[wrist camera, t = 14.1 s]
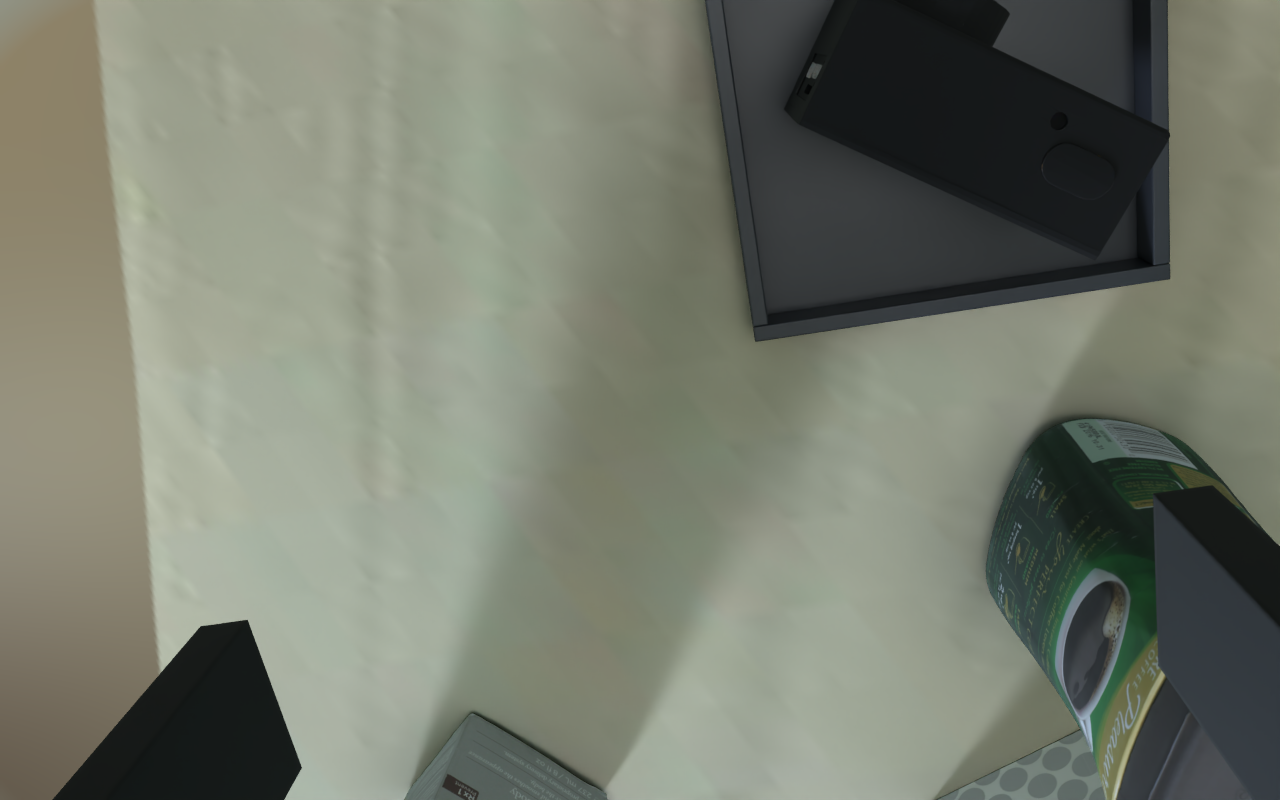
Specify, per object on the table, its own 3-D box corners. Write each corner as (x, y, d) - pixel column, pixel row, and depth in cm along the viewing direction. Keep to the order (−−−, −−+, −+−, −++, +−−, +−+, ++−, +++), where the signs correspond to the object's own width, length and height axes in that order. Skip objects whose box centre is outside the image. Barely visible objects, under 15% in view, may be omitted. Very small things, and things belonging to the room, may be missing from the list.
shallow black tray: (692, -83, 36) (691, -89, 34) (1140, -174, 34) (1166, -186, 32) (753, 327, 41) (755, 342, 39) (1147, 267, 39) (1170, 279, 37)
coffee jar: (1138, 633, 44) (1415, 1020, 27) (960, 597, 44) (1122, 962, 27) (1223, 431, 41) (1600, 724, 24) (1031, 392, 41) (1267, 657, 24)
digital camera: (1113, 85, 36) (1201, 96, 30) (1033, 224, 38) (1100, 263, 32) (851, -39, 36) (883, -56, 29) (782, 108, 37) (798, 124, 31)
